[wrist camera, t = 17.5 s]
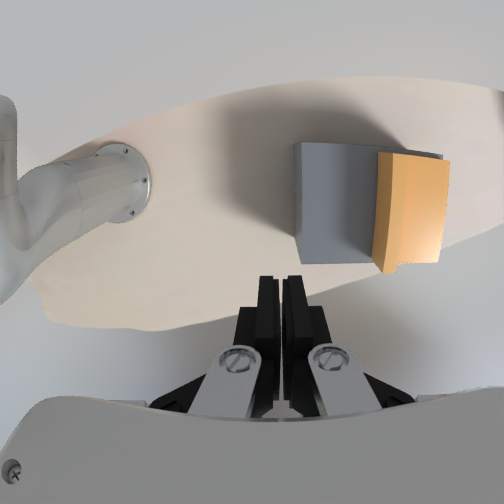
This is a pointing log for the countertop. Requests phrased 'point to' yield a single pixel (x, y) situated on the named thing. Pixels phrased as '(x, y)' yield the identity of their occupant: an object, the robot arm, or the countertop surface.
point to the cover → (409, 210)
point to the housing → (337, 200)
